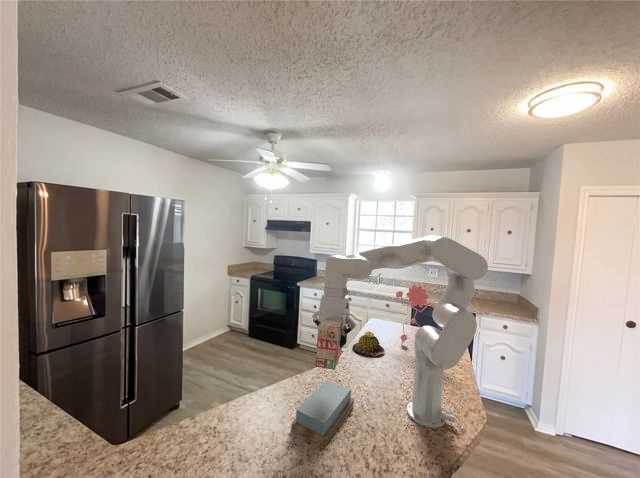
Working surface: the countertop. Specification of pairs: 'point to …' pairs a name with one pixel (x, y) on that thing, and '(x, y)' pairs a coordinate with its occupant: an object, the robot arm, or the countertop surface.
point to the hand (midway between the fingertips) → (332, 342)
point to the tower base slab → (331, 431)
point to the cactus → (368, 345)
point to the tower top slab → (323, 407)
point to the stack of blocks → (328, 344)
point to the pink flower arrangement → (414, 302)
